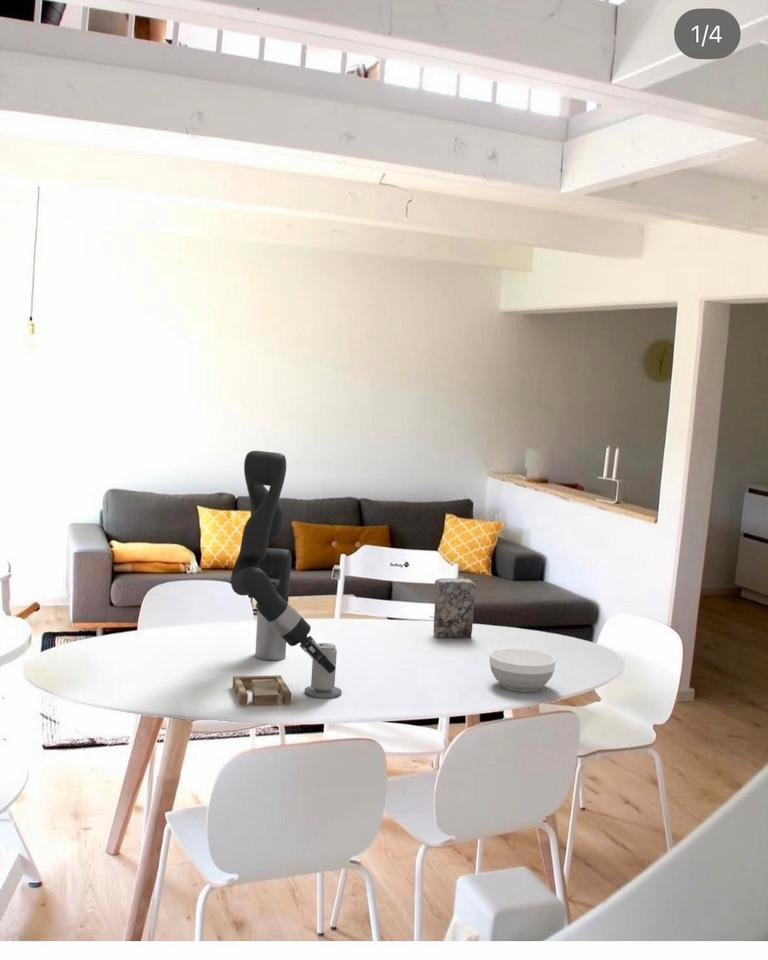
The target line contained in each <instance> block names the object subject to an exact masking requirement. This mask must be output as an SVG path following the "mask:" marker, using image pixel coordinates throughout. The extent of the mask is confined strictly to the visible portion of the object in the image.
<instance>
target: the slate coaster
mask: <svg viewBox="0 0 768 960" xmlns="http://www.w3.org/2000/svg"><path fill="white" fill-rule="evenodd" d="M342 691H343V690H342V689H341V688H340V687H337V686H334V688H332V690H330V691H318V690H315V689H314V688H313V687H312V686H311V685H309V686H306V687H305V688H304V695H306V696H307V697H310V698H314V699H321V700H324V699H325V700H326V699H327V700H330V699H336V698H339V697H341V696H342Z"/></svg>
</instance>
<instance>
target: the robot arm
mask: <svg viewBox="0 0 768 960" xmlns="http://www.w3.org/2000/svg"><path fill="white" fill-rule="evenodd" d="M243 471H244V472H243V473H244V480H245V484H246V488H247V489H246V490H247V493H248V496H249V497H248V499H249V509H250V511H249V512H250V517H249V518H248V519H247V521H246V523H245V525H244V527H243V530H242V537H241V542H240V550H239V553H238V556H237V558H236V561H235V563H234V565H233V569H232V572H231V576H230V585H231V588H232V590H233V592H234V593H235V594H237V595H238V596H243V597H245V596H248V595H250V596H251V597H252V598H253V599H254V600H255V602H256V605H255V607H256V609H257V612H256V635H255V636H256V638H255V653H254V656H255V658H257V659H260V660H264V661H265V660H266V661H279V660H283V659H285V658H287V657H286V655H287V644H288V646H290V647H294V646H295V647H296V646H297V645H298V644H299V647H300V649H302V650H303V652H304V653H306V654H308V655H309V657H310V658H311V659H312V660H313V659H315V660H316V661H317V662H318V664H320V665H322V666H323V667H324V668H325V669H326V670H327V671H328V672H329V673H332V672H333V671H334V670H335V667H334V665H333V664H332V663H331V662H330V661H329V660H328V659H327V658H326V656H325V655H324V654H323V653H322V649H321V648H320V647H319V646H318V645H317V643H318V642H316V641H315V639H314V638H313V636H311V635H309V636H308V634H310V632H311V631H312V630H311V625H310V624H309V623H308V622H307V621H306V620H305V619H304V617H303V616H302V615H301V614H300V613H299V612H298V611H297V610H296V609H295V608H294V607H293V606H292V605H290V604H289V594H290V578H291V569H292V553H291V552H290V550H289V549H286V548H274V547H273V548H271V547H269V546H270V545H271V544H272V543H273V542H274V541H275V540H276V539H277V538H278V537H279V536H280V535H281V533H282V531H283V530H284V529H283V528H284V524H285V523H284V512H283V507H282V504H281V503H280V502H279V501H280V497H281V492H282V490H283V486H284V482H285V478H286V473H287V460H286V456H285V454H283V453H281V452H274V451H273V452H272V451H271V452H270V451H263V450H251V451H249V452H247V454H246V455H245V458H244V462H243ZM265 486H267V487H268V486H269V489H267V488H266V487H265ZM271 580H278V583H277V584H275V585H274V584H273V583H272V581H271ZM319 655H322V656H323V657H322V658H321V659H320V660H318V659H317V657H318V656H319Z"/></svg>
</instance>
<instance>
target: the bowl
mask: <svg viewBox="0 0 768 960" xmlns="http://www.w3.org/2000/svg"><path fill="white" fill-rule="evenodd" d="M556 663H557V662H556V659H555V657H554V656H552V655H551V654H548V653H545V652H540V651H538V650H537V651H536V650H532V649H524V648H523V649H520V648H503V649H502V648H501V649H497V650H493V651H491V652H490V653H489V666H490V670H491V673H492V675H493V677H494V679H496V681H497V682H499V683H500V684H501V687H503V688H504V689H506V690H510V691H513V692H514V691H515V692H519V693H532V692H537V691H538V690H540V688H542V687H543V686H545V685H546V684H547V683H549V681H550V680H551V678H552V677H553V674H554V672H555V668H556Z"/></svg>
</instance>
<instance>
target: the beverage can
mask: <svg viewBox="0 0 768 960" xmlns="http://www.w3.org/2000/svg"><path fill="white" fill-rule="evenodd" d="M316 643H317V645H318V646H319V647H320V648H321V649H322V653H323V654H324V655H325V656H326V658H327V659H328V660H329V661H330V662H331V663H332V664H333V665H334V667H335V670H334V671H333V672H332V673H329V672H328V671H327V670H326V669H325V668H324V667H323V666H322V665H320V664H318V662H317V661H316V660H315V659H312V660H311V661H312V664H311V666H312V667H311V678H310V679H311V681H310V686H312V687H313V688H314V689H315V690H318V691H330V690H332V688H334V687H336V686H335V685H336V669H337V667H336V666H337V652H338V651H337V648H336V645H335V644H333V643H329V642H316ZM322 657H323V656H322V655H319V656H318V657H317V659H318V660H320V659H321V658H322Z"/></svg>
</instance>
